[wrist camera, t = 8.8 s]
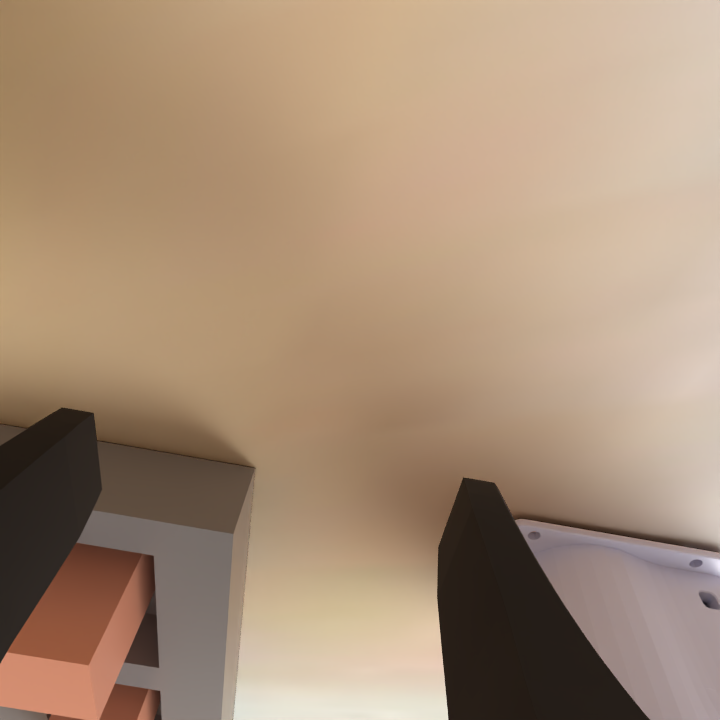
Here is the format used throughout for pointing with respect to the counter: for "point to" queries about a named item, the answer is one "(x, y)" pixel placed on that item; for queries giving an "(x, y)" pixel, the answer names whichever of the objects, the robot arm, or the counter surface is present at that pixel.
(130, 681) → the dock
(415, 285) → the counter surface
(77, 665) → the plug
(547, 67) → the counter surface
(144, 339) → the counter surface
